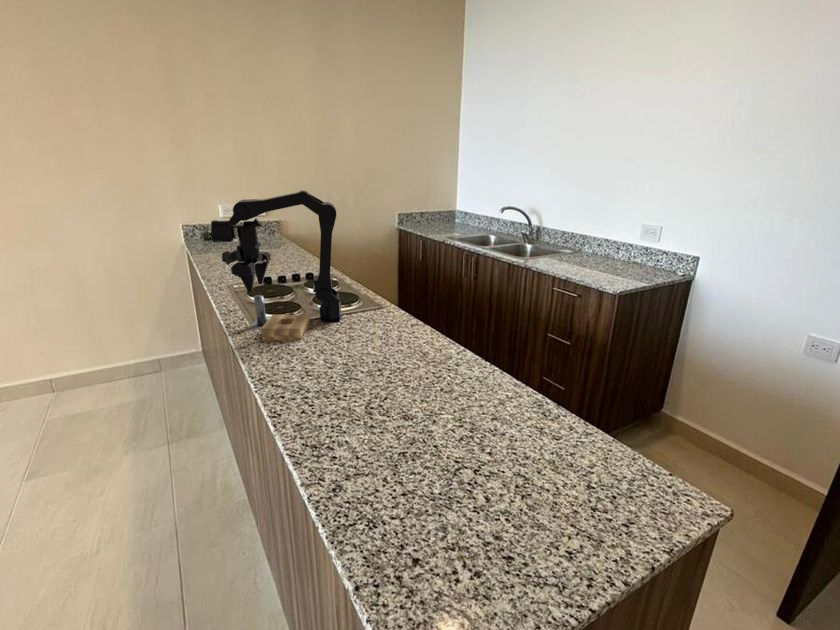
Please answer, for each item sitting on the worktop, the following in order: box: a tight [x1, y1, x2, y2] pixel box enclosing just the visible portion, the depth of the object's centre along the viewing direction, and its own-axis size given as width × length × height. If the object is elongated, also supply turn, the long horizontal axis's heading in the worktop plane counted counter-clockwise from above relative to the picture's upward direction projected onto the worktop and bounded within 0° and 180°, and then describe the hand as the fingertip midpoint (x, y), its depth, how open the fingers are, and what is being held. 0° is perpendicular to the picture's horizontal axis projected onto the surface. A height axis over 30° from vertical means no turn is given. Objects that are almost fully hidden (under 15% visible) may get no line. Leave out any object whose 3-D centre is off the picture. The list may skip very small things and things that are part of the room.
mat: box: [247, 319, 268, 331], centre depth 154 cm, size 7×8×1 cm
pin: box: [253, 294, 267, 327], centre depth 153 cm, size 3×3×10 cm
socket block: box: [260, 314, 311, 341], centre depth 148 cm, size 12×12×4 cm
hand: (255, 288), depth 152 cm, fingers open, 9 cm apart
